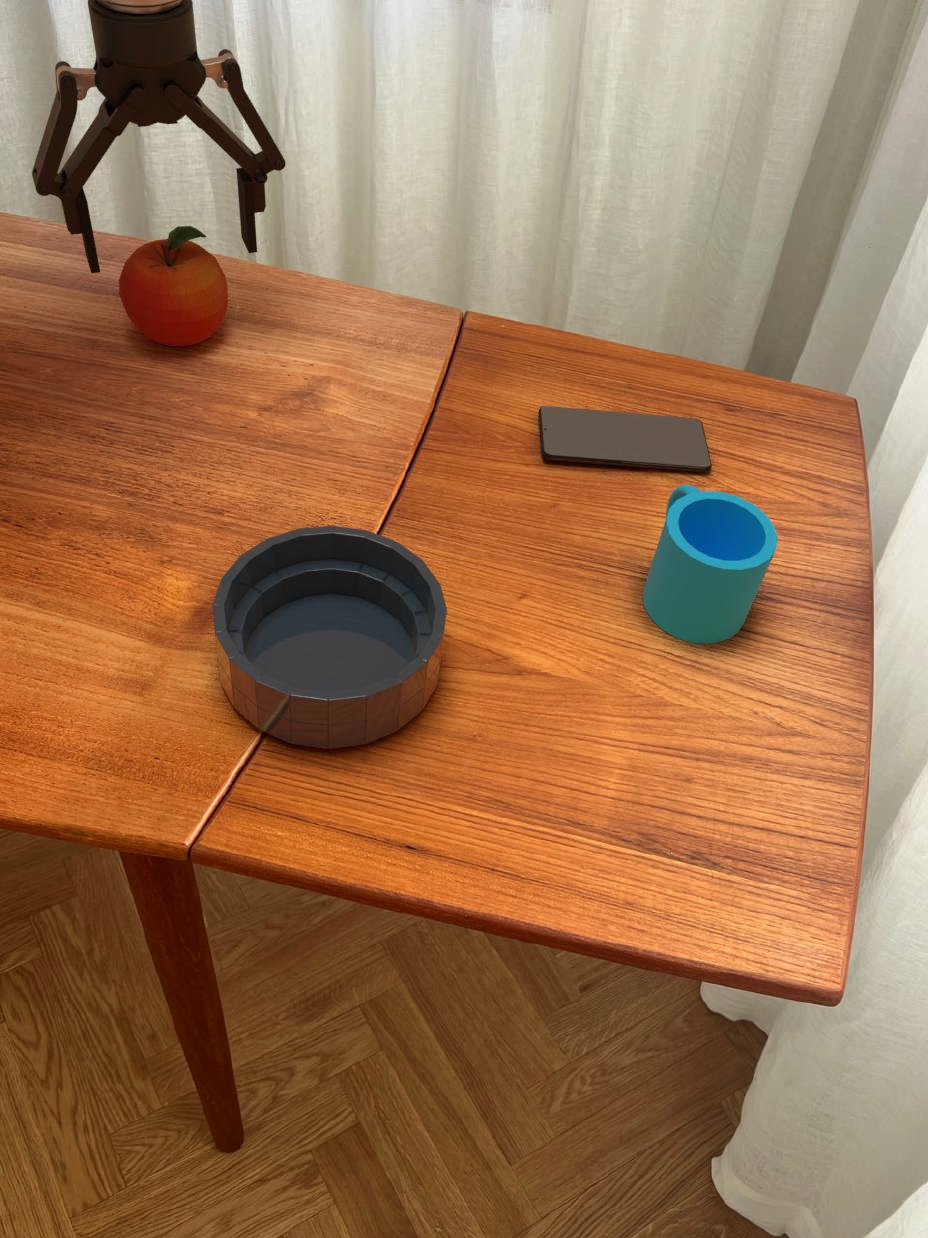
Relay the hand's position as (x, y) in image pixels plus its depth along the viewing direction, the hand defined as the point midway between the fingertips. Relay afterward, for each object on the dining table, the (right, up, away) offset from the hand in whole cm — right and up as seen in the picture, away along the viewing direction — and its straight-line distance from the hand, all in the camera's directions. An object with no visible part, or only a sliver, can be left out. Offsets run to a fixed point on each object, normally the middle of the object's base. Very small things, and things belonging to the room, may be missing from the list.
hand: (172, 254), depth 98 cm
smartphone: (+40, -16, +1) cm, 43 cm away
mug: (+43, -29, -9) cm, 53 cm away
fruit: (-1, -5, +6) cm, 8 cm away
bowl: (+16, -35, -18) cm, 43 cm away
